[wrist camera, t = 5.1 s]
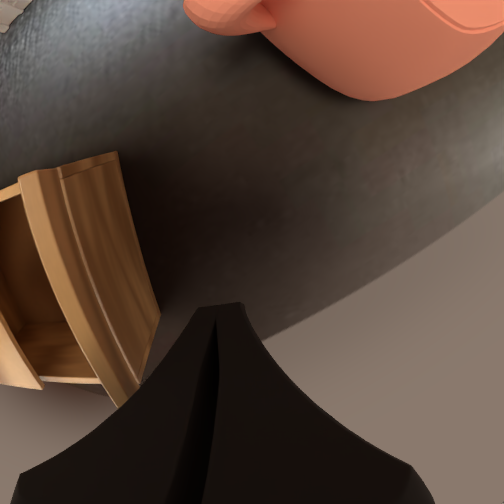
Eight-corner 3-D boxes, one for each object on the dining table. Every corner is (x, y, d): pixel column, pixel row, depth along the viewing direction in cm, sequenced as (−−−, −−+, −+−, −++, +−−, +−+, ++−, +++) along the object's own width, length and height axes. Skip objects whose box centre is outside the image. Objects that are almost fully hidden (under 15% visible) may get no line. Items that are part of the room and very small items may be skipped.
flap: (47, 171, 9) (57, 168, 9) (135, 394, 13) (142, 391, 13) (16, 176, 4) (37, 168, 4) (188, 495, 8) (198, 491, 8)
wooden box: (117, 150, 15) (49, 169, 8) (161, 314, 20) (137, 395, 13) (-20, 201, 15) (-85, 236, 8) (27, 325, 19) (-14, 381, 13)
